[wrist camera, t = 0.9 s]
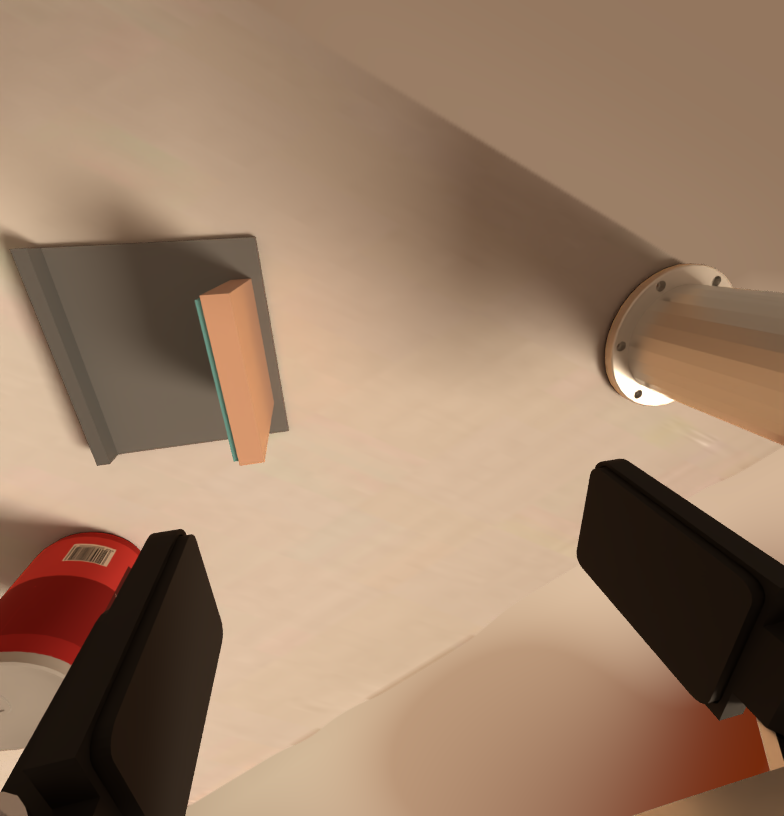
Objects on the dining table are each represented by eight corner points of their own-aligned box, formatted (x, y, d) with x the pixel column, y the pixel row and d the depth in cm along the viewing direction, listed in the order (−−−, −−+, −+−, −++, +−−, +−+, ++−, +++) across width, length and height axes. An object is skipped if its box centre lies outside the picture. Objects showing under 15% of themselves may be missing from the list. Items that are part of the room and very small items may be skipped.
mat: (255, 237, 26) (252, 236, 24) (288, 428, 31) (288, 438, 30) (29, 248, 23) (9, 248, 22) (108, 453, 29) (97, 465, 27)
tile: (251, 278, 26) (229, 293, 18) (274, 402, 30) (264, 462, 22) (225, 280, 26) (192, 295, 18) (252, 405, 29) (234, 466, 21)
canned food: (14, 552, 30) (-126, 702, 20) (116, 513, 31) (29, 641, 21) (77, 615, 34) (-17, 771, 24) (168, 579, 34) (114, 716, 24)
